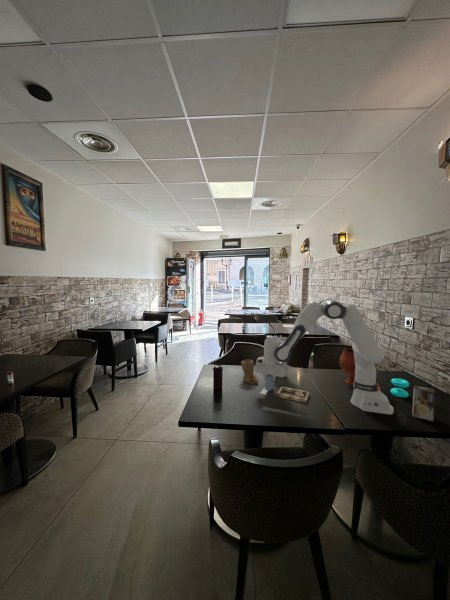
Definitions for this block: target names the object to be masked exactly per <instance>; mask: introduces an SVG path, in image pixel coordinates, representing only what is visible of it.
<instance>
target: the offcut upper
mask: <svg viewBox="0 0 450 600" xmlns="http://www.w3.org/2000/svg"><path fill="white" fill-rule="evenodd" d="M294 396H296V397H300V398H305V396H306V395H303V393H302V392H295V393H294Z"/></svg>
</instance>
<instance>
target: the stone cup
mask: <svg viewBox="0 0 450 600" xmlns="http://www.w3.org/2000/svg"><path fill="white" fill-rule="evenodd" d="M241 369H242V372H243V380H244V382H245V383H248V384H254V385H255V384H257V383H259V380H258V377H257V376H256V374H254V372H255V363H254V360H252V359H244V360H242V361H241Z"/></svg>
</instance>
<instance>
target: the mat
mask: <svg viewBox="0 0 450 600" xmlns="http://www.w3.org/2000/svg"><path fill="white" fill-rule="evenodd" d="M268 392H269V391H268V390H265V387H264V388H263V389H262V390H261V391H260V392H259V395H263V396H267V394H268Z"/></svg>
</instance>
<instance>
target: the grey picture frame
mask: <svg viewBox="0 0 450 600" xmlns="http://www.w3.org/2000/svg"><path fill="white" fill-rule="evenodd" d="M412 393H413V394H412V410H411V411H412V412H411V413H412V417H414V418H418V419H423V420H427V421H431V422H434V418H435V417H434V416H435V415H434V414H435V403H436V392H435V389H434V388H430V387H425V386H419V385H413V392H412Z"/></svg>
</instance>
